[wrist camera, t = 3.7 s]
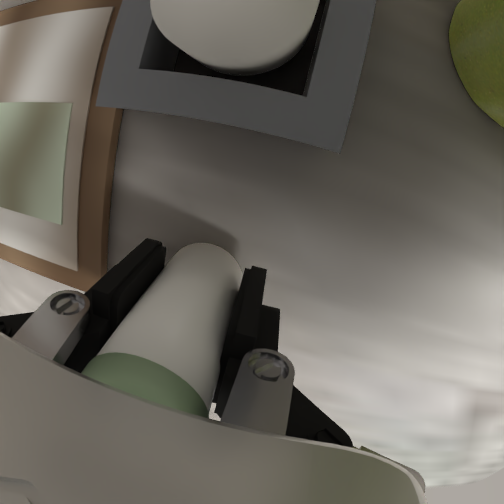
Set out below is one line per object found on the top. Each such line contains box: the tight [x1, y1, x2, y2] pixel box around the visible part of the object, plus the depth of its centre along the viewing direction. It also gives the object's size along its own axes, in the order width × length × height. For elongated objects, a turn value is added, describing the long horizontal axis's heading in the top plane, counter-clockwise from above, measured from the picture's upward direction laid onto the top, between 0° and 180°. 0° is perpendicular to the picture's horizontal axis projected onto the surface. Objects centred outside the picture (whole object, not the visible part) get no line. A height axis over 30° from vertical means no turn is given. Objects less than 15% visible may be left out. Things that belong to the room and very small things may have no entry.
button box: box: [96, 0, 376, 154], centre depth 8 cm, size 7×7×3 cm
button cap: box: [150, 0, 320, 76], centre depth 6 cm, size 4×4×2 cm
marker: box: [81, 243, 243, 418], centre depth 8 cm, size 3×3×8 cm
